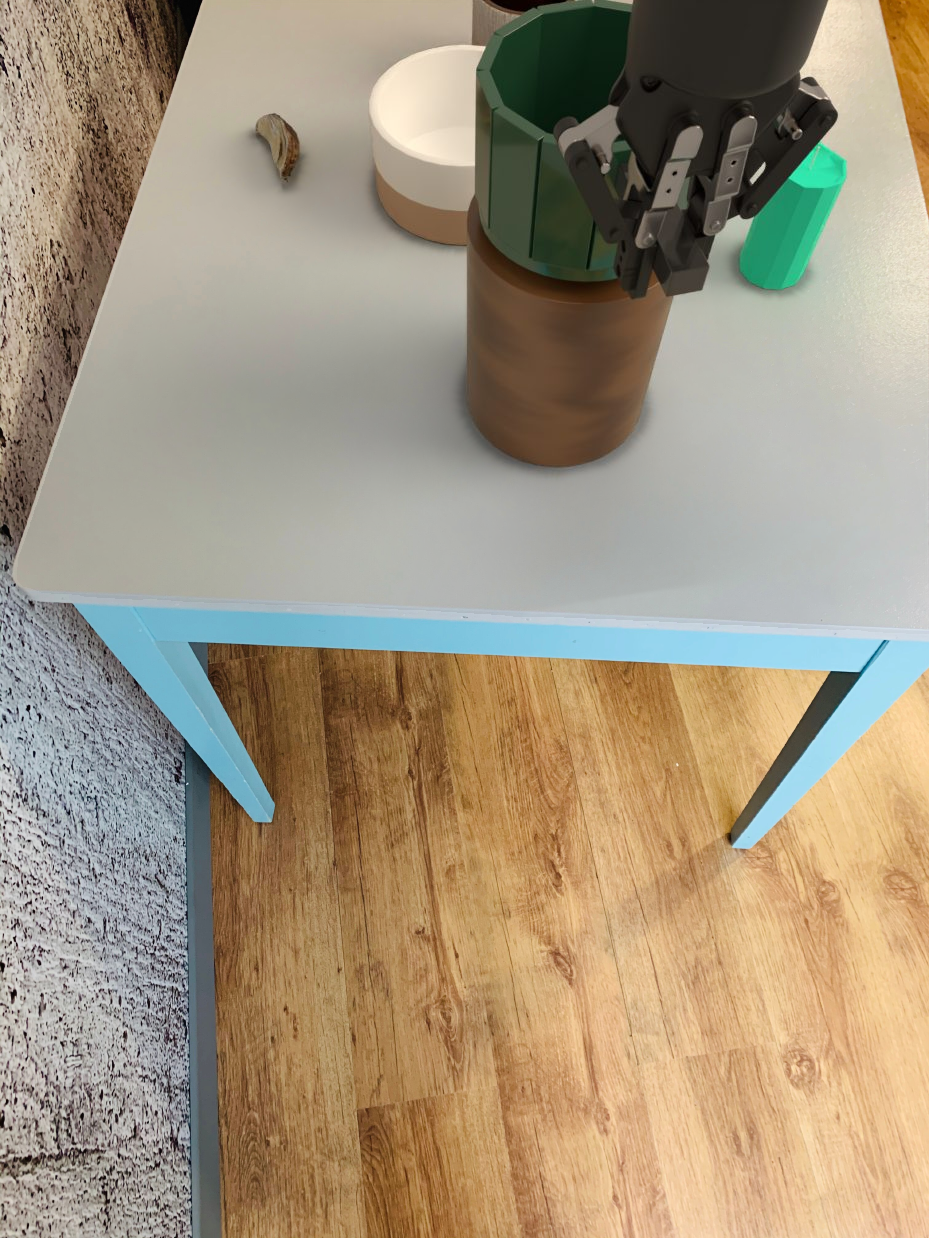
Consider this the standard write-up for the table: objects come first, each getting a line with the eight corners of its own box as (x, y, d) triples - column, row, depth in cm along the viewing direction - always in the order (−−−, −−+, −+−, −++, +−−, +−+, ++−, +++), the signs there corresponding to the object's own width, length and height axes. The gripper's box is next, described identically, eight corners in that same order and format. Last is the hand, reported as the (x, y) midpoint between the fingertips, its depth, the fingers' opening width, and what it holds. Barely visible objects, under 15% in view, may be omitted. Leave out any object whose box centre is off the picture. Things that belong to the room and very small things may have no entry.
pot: (455, 157, 58) (454, 18, 50) (643, 125, 60) (671, -15, 52) (547, 404, 49) (562, 283, 41) (766, 359, 51) (823, 234, 43)
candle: (772, 300, 78) (822, 182, 67) (724, 263, 80) (765, 143, 69) (816, 270, 79) (872, 150, 68) (768, 234, 81) (815, 113, 70)
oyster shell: (276, 187, 91) (308, 188, 83) (243, 173, 88) (271, 173, 81) (290, 126, 89) (323, 122, 81) (256, 111, 87) (287, 105, 79)
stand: (609, 315, 77) (646, 131, 61) (666, 446, 71) (724, 279, 55) (448, 346, 75) (443, 167, 60) (492, 483, 69) (500, 323, 53)
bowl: (532, 259, 80) (539, 179, 72) (356, 230, 82) (345, 150, 74) (564, 141, 87) (573, 57, 80) (401, 117, 89) (395, 32, 81)
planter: (460, 106, 90) (460, 7, 81) (483, 44, 94) (485, -55, 85) (562, 122, 88) (572, 24, 80) (580, 59, 93) (592, -41, 84)
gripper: (603, 3, 29) (555, 358, 45) (967, -54, 31) (798, 309, 46) (541, -110, 32) (517, 259, 48) (874, -156, 34) (745, 216, 50)
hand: (655, 282), depth 47 cm, fingers closed on pot, 2 cm apart
